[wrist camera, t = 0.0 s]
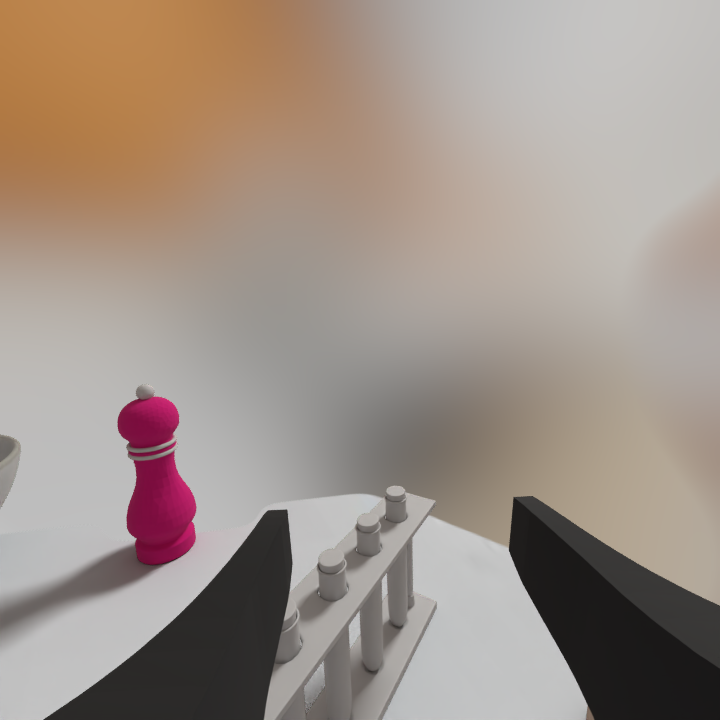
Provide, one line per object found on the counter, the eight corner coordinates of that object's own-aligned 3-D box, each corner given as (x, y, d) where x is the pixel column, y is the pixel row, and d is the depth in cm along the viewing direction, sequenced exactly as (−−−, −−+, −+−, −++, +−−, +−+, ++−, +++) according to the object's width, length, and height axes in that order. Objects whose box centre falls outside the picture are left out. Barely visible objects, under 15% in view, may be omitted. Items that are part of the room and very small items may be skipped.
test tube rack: (196, 1099, 14) (147, 831, 11) (134, 985, 16) (82, 743, 14) (436, 608, 34) (437, 477, 32) (394, 589, 37) (391, 466, 34)
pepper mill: (131, 542, 45) (105, 383, 42) (194, 520, 49) (175, 374, 46) (133, 578, 39) (103, 397, 36) (205, 551, 43) (184, 385, 40)
